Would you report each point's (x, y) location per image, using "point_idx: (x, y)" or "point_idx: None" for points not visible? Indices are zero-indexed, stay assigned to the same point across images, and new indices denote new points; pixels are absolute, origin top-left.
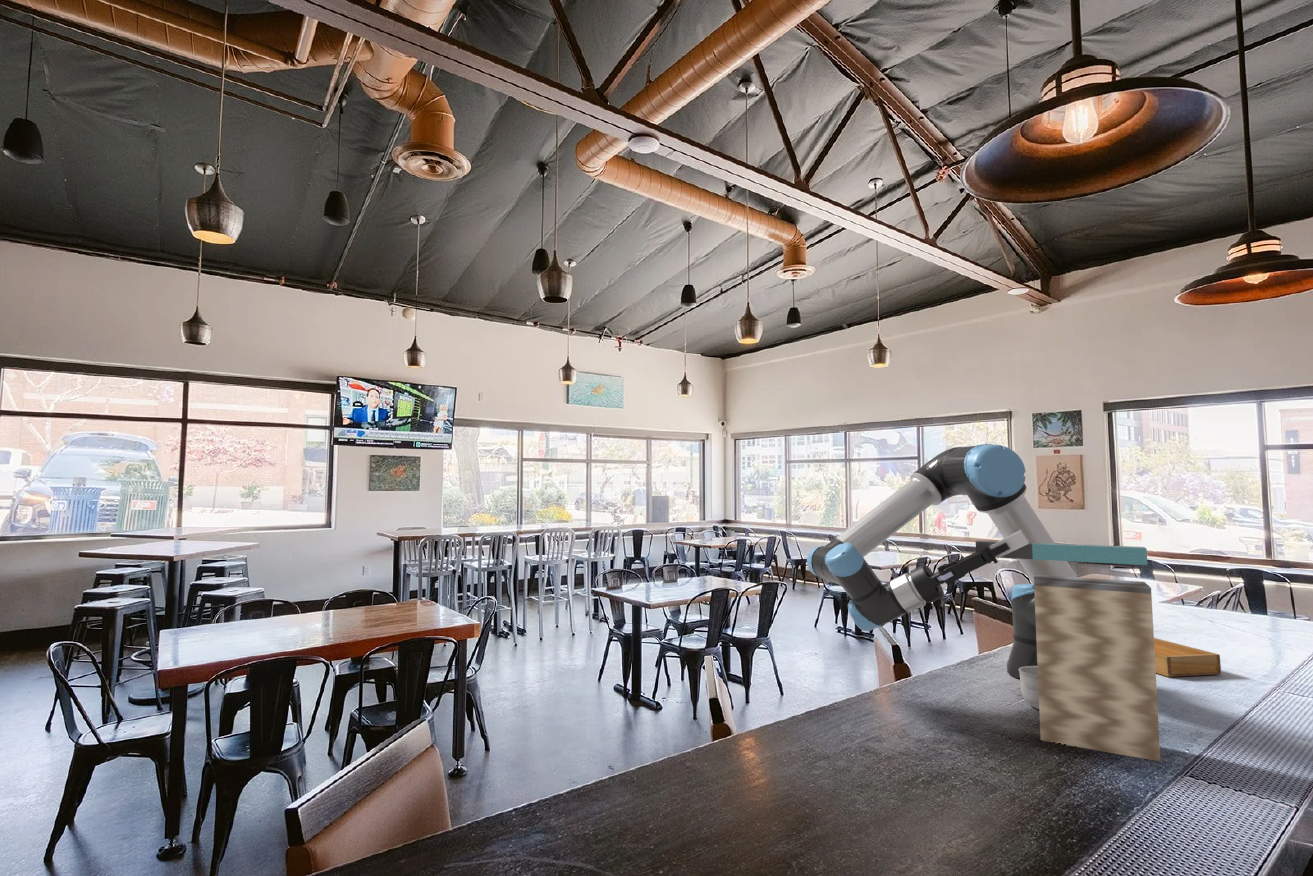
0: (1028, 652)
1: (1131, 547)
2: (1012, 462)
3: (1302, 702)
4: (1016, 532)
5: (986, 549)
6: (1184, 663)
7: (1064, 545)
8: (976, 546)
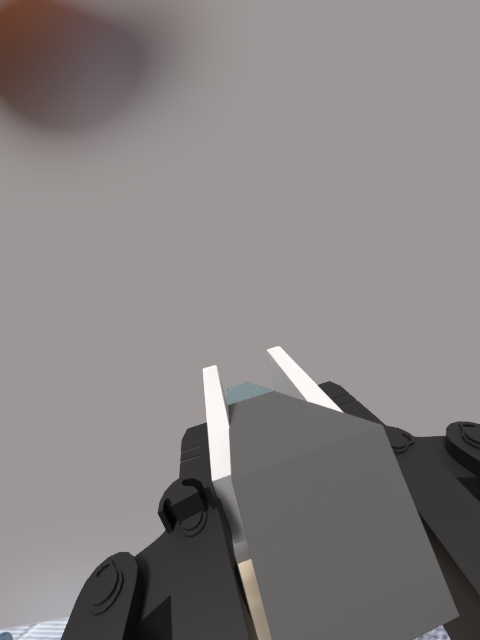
0: None
1: (242, 384)
2: None
3: (57, 620)
4: (217, 373)
5: (409, 434)
6: None
7: (260, 386)
8: (397, 474)
